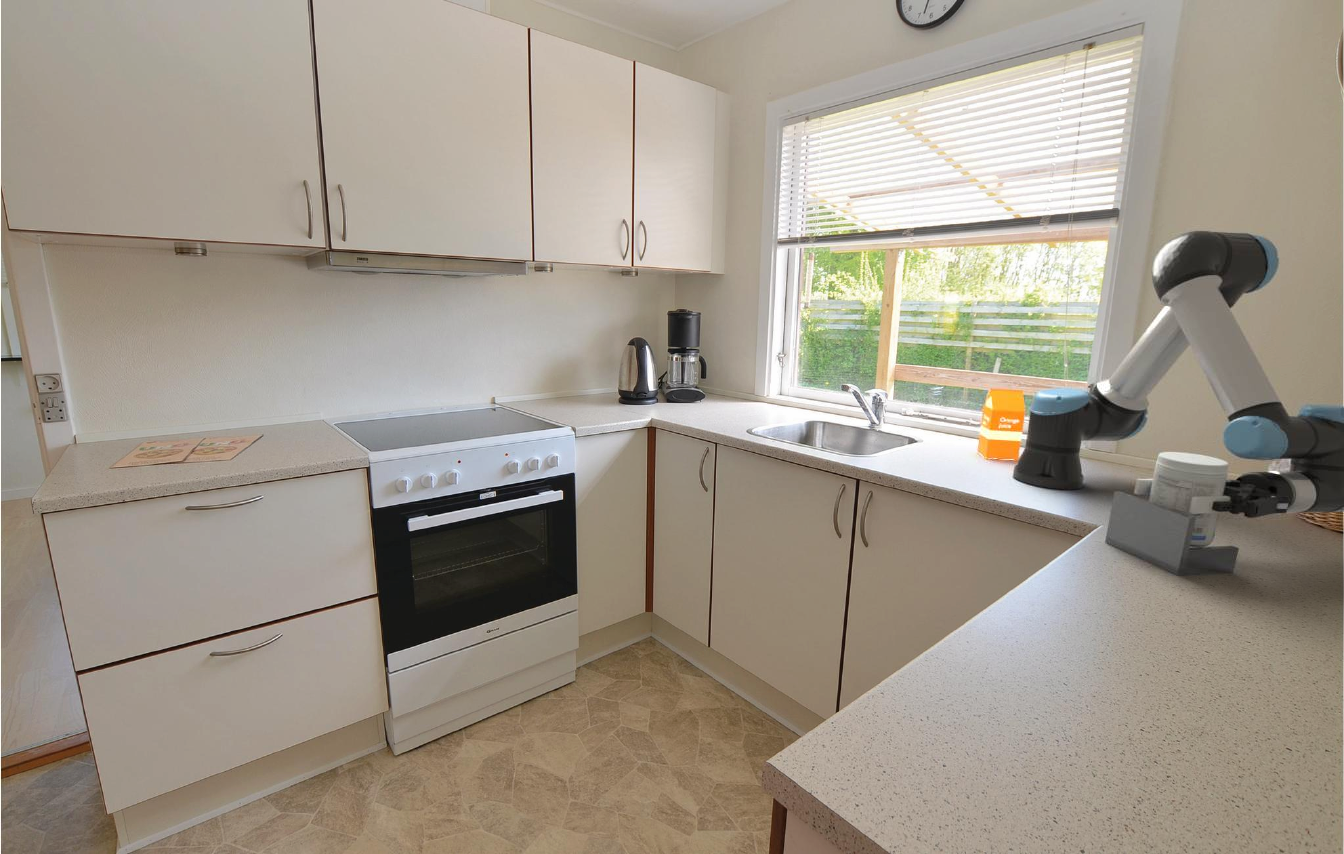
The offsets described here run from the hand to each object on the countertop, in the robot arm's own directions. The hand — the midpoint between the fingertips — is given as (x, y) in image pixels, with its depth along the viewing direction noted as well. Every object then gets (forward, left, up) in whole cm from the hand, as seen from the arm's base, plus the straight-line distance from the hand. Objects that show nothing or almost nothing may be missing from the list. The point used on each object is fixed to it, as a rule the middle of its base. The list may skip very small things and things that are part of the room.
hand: (1163, 495), depth 104 cm
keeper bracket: (0, +3, -11) cm, 12 cm away
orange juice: (-69, +22, -12) cm, 73 cm away
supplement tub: (0, +4, -8) cm, 9 cm away
